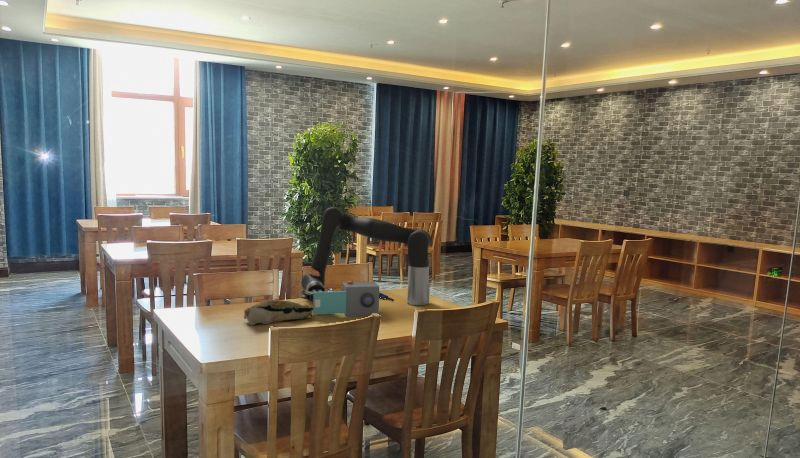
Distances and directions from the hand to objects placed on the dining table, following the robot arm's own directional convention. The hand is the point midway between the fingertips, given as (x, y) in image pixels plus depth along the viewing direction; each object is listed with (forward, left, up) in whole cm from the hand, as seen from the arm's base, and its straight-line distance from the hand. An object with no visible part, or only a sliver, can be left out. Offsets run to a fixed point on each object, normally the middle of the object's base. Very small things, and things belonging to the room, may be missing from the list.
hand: (318, 300), depth 220 cm
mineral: (+15, +3, -7) cm, 17 cm away
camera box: (-18, -5, -7) cm, 20 cm away
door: (-4, +1, -5) cm, 7 cm away
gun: (-27, -32, -8) cm, 42 cm away
